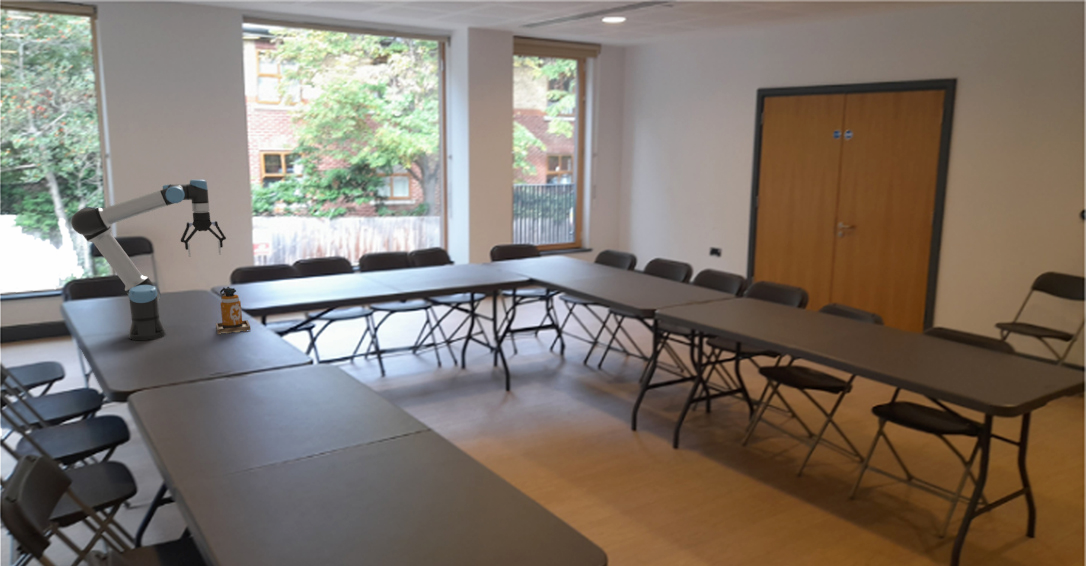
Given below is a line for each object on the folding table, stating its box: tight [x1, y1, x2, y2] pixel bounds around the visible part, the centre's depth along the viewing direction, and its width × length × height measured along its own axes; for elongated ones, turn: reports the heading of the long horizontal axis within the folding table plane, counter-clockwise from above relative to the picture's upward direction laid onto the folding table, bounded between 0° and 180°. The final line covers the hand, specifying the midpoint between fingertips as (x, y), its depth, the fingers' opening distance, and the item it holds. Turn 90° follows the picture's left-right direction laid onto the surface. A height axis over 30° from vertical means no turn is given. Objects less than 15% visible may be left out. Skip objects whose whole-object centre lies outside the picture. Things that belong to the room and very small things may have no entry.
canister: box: [219, 286, 243, 328], centre depth 367 cm, size 9×11×20 cm
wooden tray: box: [215, 319, 251, 335], centre depth 369 cm, size 15×14×2 cm
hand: (204, 255), depth 373 cm, fingers open, 13 cm apart
